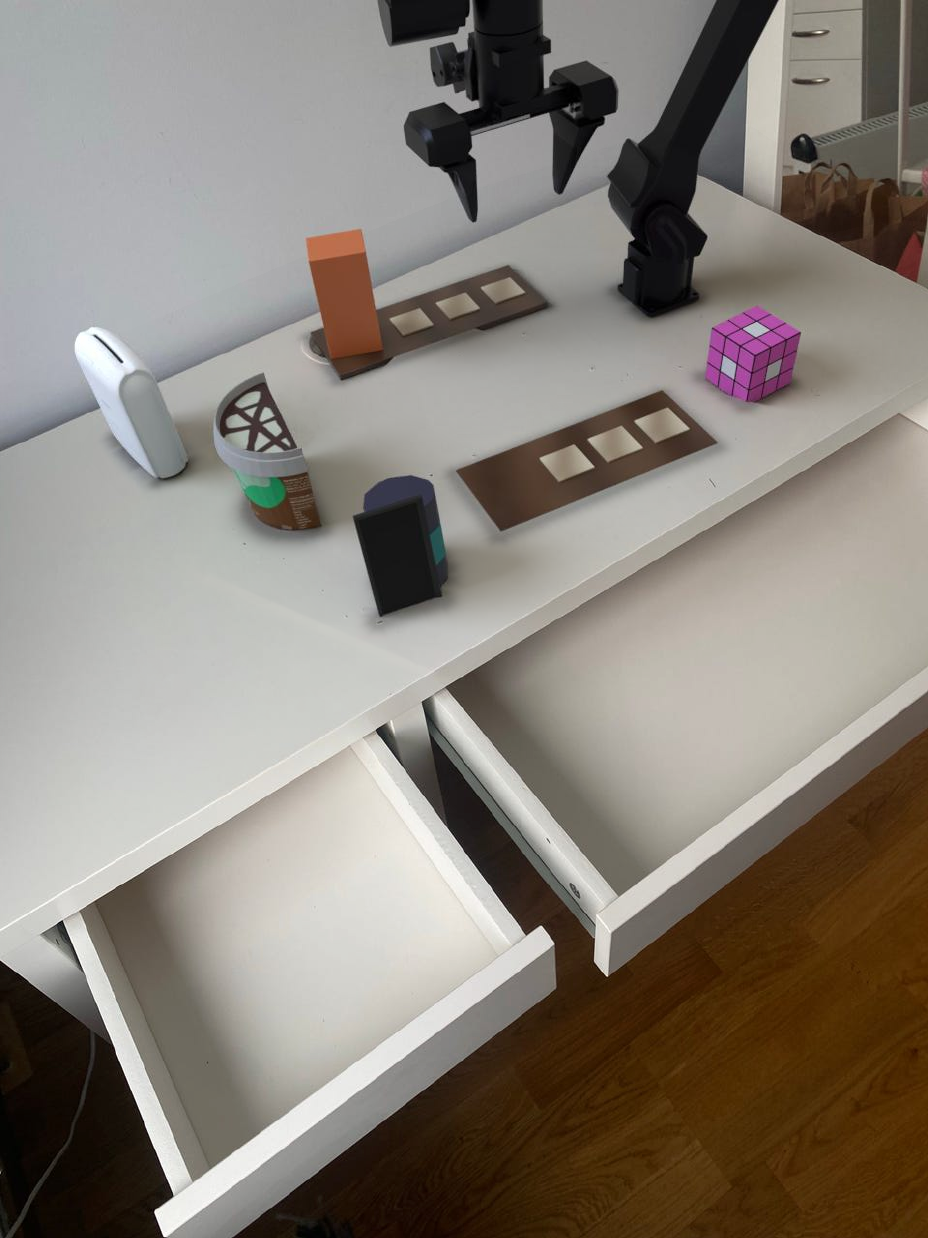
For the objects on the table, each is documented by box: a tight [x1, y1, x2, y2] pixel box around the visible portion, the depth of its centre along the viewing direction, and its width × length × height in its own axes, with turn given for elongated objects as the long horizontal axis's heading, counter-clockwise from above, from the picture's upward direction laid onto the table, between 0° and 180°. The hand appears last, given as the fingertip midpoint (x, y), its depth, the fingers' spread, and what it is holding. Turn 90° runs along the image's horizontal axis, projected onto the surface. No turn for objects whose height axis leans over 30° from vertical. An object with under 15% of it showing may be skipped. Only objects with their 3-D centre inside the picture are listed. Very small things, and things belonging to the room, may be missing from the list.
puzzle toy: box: [704, 305, 802, 403], centre depth 88 cm, size 6×6×6 cm
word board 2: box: [455, 389, 719, 532], centre depth 85 cm, size 22×9×1 cm, turn 116°
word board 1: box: [310, 264, 548, 381], centre depth 101 cm, size 24×9×1 cm, turn 116°
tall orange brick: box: [305, 228, 383, 359], centre depth 95 cm, size 6×4×11 cm
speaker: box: [352, 474, 449, 618], centre depth 74 cm, size 8×6×10 cm
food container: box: [213, 371, 322, 532], centre depth 81 cm, size 12×6×10 cm, turn 23°
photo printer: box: [74, 326, 189, 479], centre depth 87 cm, size 10×4×12 cm, turn 39°
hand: (515, 206), depth 89 cm, fingers open, 9 cm apart
